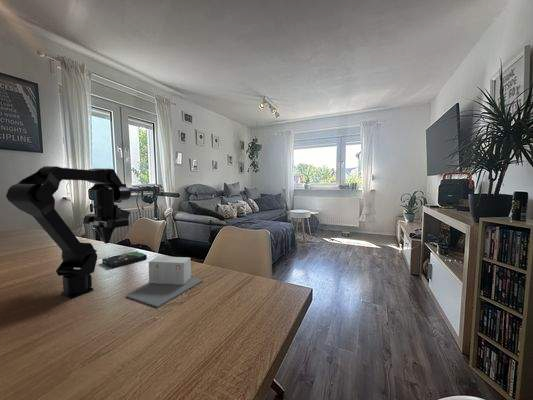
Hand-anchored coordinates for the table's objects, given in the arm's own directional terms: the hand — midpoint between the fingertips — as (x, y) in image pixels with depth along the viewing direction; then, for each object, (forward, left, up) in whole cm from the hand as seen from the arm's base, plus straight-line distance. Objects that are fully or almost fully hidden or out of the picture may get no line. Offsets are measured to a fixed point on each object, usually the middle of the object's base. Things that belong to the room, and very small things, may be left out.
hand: (106, 243), depth 88 cm
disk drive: (+14, +10, -14) cm, 22 cm away
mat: (+3, -28, -13) cm, 31 cm away
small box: (+5, -18, -8) cm, 21 cm away
